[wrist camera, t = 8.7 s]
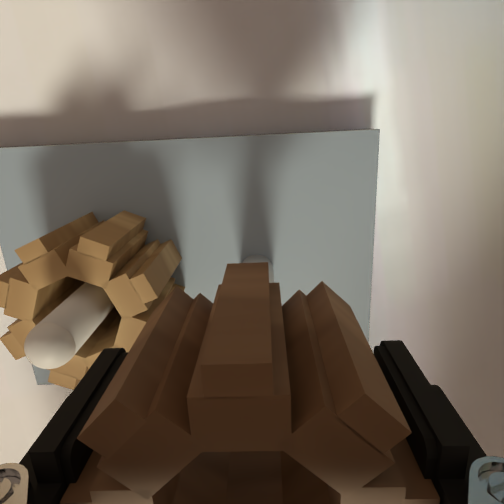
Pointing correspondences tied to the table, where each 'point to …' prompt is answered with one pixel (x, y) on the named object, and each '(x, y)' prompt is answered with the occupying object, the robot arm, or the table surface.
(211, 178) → the board
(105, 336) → the gear
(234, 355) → the gear
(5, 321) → the table surface
